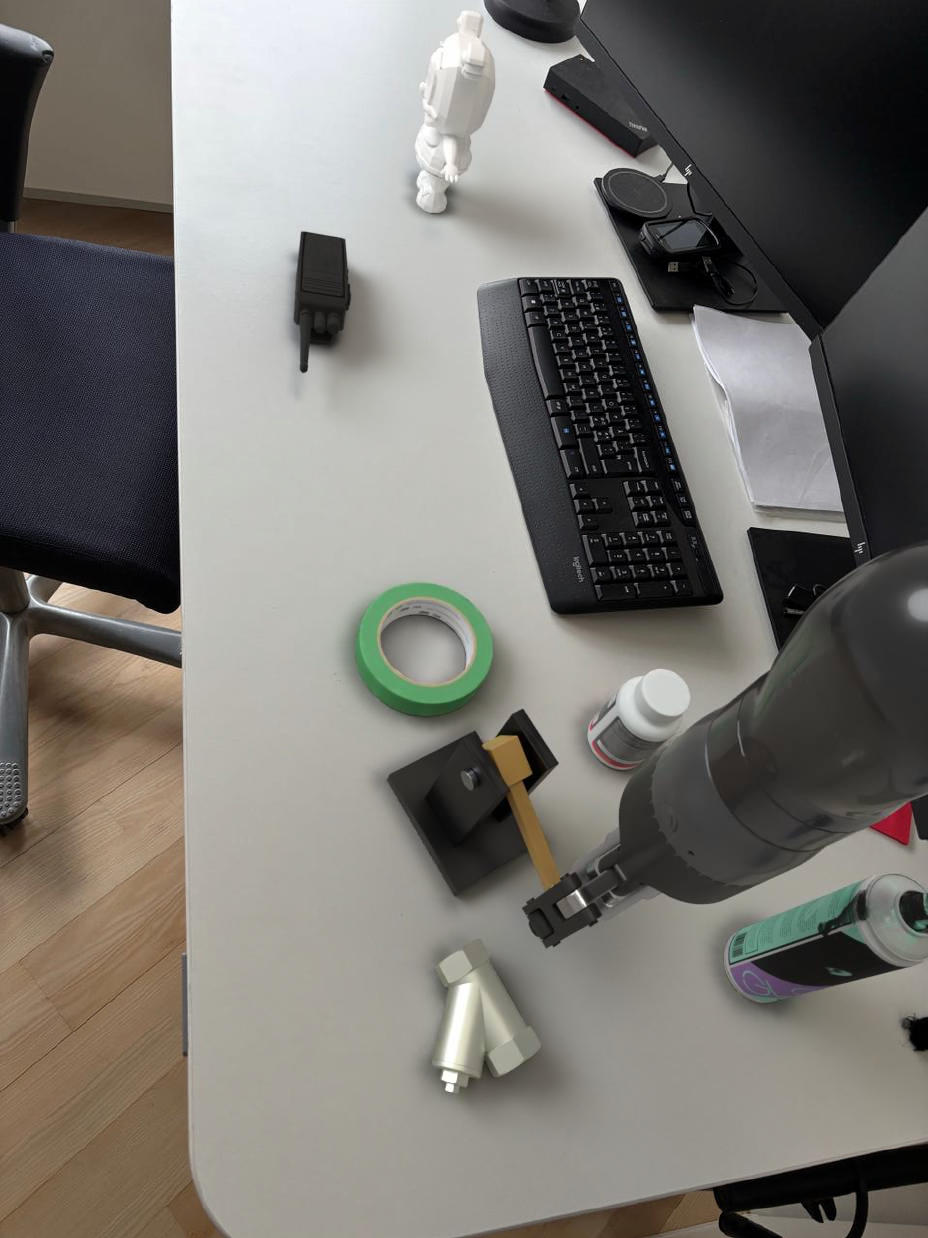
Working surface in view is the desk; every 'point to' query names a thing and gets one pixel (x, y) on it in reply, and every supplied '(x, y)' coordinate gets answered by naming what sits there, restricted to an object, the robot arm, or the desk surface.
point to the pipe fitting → (478, 1021)
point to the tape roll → (409, 692)
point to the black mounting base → (469, 803)
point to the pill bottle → (639, 718)
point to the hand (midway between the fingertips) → (599, 884)
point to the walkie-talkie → (320, 290)
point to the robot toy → (453, 109)
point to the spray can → (832, 940)
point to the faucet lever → (523, 805)
